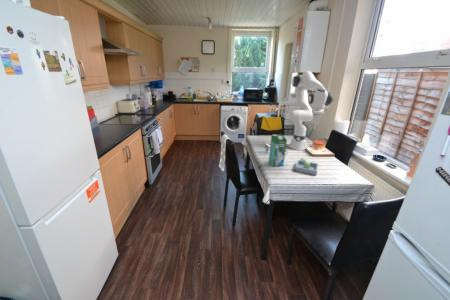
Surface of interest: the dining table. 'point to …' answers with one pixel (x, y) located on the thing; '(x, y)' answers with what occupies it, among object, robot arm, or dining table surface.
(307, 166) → the cucumber chunk
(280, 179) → the dining table surface
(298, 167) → the bin
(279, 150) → the milk carton
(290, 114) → the robot arm
